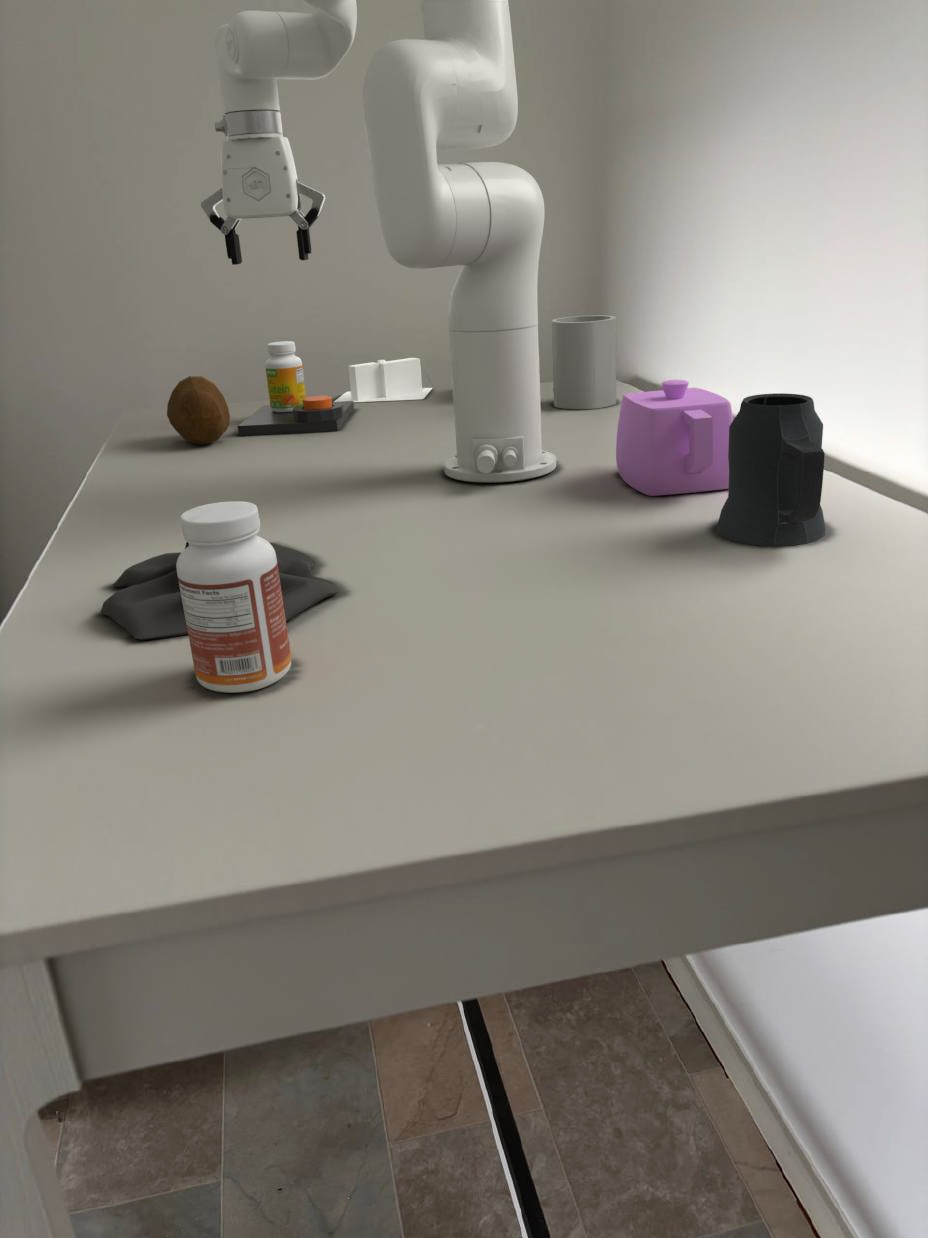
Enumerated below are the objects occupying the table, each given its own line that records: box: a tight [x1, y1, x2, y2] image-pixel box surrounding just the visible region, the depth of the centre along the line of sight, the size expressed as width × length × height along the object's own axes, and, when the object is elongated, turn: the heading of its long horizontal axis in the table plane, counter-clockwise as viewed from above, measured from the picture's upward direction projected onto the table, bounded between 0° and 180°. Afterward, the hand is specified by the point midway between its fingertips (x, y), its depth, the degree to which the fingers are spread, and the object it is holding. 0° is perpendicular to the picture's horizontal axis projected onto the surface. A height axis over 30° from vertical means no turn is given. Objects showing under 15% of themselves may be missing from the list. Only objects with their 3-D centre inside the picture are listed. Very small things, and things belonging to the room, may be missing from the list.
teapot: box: [615, 379, 734, 497], centre depth 104 cm, size 18×10×10 cm, turn 8°
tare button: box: [303, 395, 333, 410], centre depth 144 cm, size 4×4×2 cm
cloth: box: [100, 541, 340, 641], centre depth 81 cm, size 22×19×6 cm
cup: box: [550, 314, 617, 410], centre depth 148 cm, size 9×9×12 cm
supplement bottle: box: [264, 340, 307, 413], centre depth 150 cm, size 5×5×10 cm
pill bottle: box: [176, 500, 292, 694], centre depth 64 cm, size 6×6×11 cm
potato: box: [166, 375, 231, 445], centre depth 139 cm, size 8×12×9 cm
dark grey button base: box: [237, 401, 355, 437], centre depth 149 cm, size 16×14×3 cm
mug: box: [715, 392, 826, 547], centre depth 85 cm, size 12×9×11 cm
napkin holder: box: [333, 357, 433, 403], centre depth 167 cm, size 15×11×6 cm
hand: (270, 261), depth 144 cm, fingers open, 9 cm apart
